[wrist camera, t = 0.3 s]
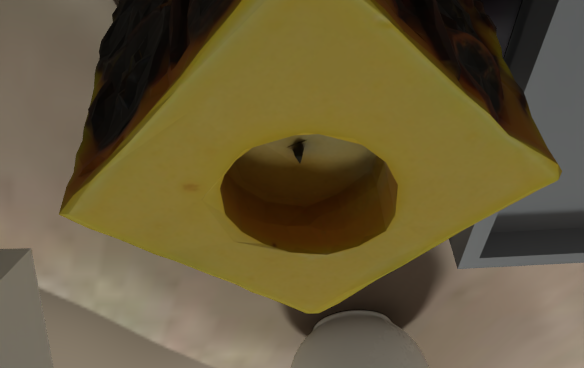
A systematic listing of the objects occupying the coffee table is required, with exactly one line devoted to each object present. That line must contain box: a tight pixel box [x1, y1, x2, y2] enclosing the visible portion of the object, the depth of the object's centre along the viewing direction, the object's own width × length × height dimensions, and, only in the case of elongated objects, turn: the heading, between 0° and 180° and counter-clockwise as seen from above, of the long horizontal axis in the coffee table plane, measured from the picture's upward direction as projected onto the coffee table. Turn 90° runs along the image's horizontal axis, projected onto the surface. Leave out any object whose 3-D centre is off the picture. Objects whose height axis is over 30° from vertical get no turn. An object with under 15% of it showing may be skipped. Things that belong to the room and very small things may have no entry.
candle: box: [59, 0, 562, 314], centre depth 18 cm, size 10×10×10 cm
